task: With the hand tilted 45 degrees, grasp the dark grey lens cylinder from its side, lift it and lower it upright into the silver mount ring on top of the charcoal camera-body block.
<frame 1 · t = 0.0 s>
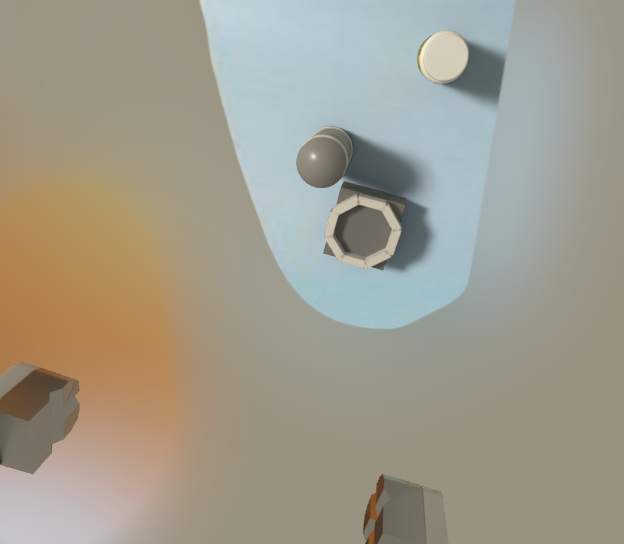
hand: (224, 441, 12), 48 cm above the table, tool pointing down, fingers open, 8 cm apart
supplement bottle: (438, 57, 49), on the table
lens: (331, 148, 55), on the table
camera body: (364, 222, 59), on the table
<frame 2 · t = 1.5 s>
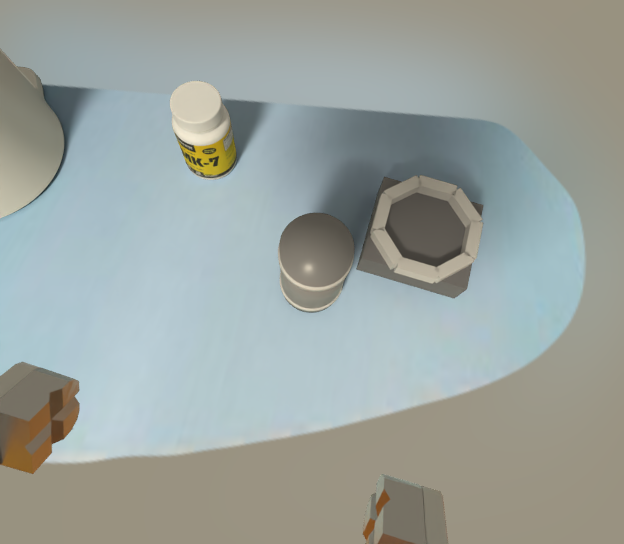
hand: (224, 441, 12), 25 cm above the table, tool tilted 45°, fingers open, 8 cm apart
supplement bottle: (212, 160, 43), on the table
lens: (310, 283, 40), on the table
camera body: (414, 243, 41), on the table
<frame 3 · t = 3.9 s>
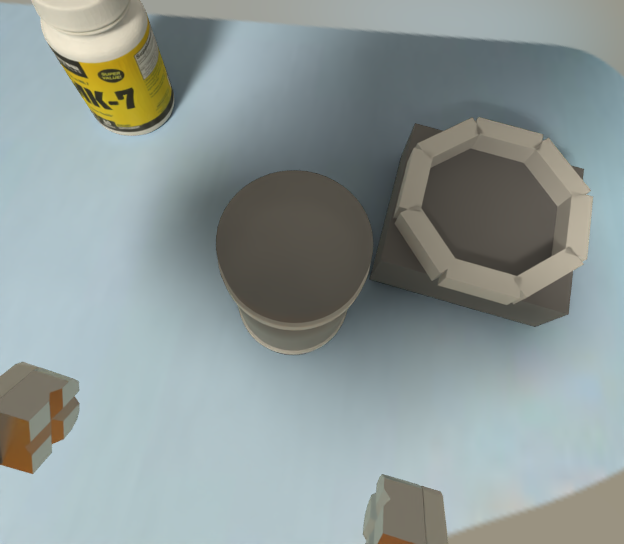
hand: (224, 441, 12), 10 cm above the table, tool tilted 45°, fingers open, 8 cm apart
supplement bottle: (136, 107, 27), on the table
lens: (293, 304, 23), on the table
camera body: (464, 236, 25), on the table
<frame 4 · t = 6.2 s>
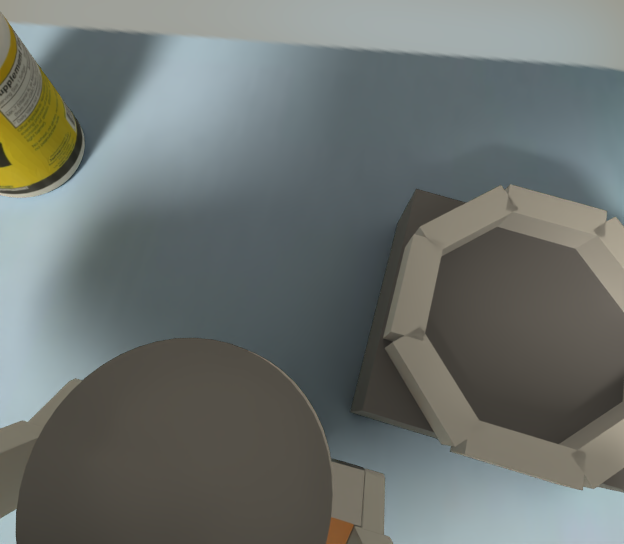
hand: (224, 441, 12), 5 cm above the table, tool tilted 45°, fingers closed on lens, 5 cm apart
supplement bottle: (34, 155, 20), on the table
lens: (238, 453, 16), on the table, touching gripper
camera body: (485, 343, 18), on the table
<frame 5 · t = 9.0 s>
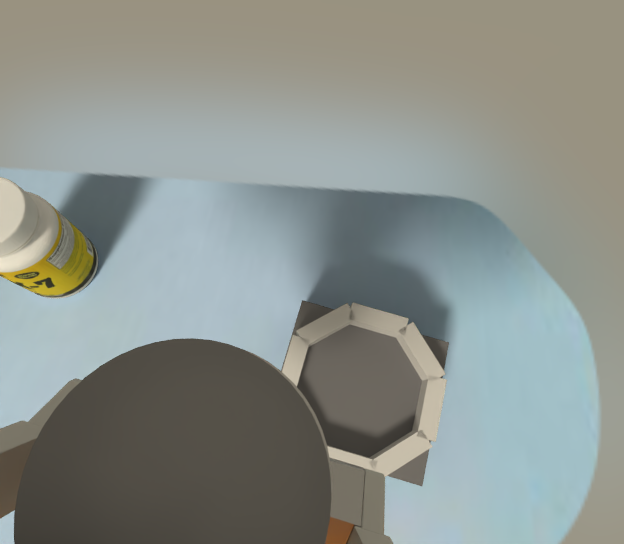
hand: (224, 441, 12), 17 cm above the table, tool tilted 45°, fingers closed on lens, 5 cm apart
supplement bottle: (65, 266, 30), on the table
lens: (237, 454, 16), point 12 cm above the table, touching gripper
camera body: (351, 391, 28), on the table
when the fingers open (9 cm above the table, at t = 12.1 s): lens drops 1 cm, resting on camera body.
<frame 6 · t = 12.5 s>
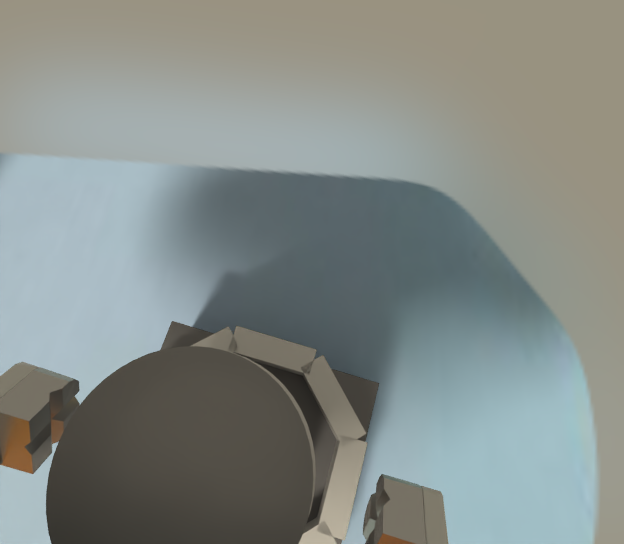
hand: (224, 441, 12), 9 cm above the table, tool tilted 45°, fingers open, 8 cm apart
lens: (235, 449, 17), point 3 cm above the table, touching camera body
camera body: (249, 446, 20), on the table
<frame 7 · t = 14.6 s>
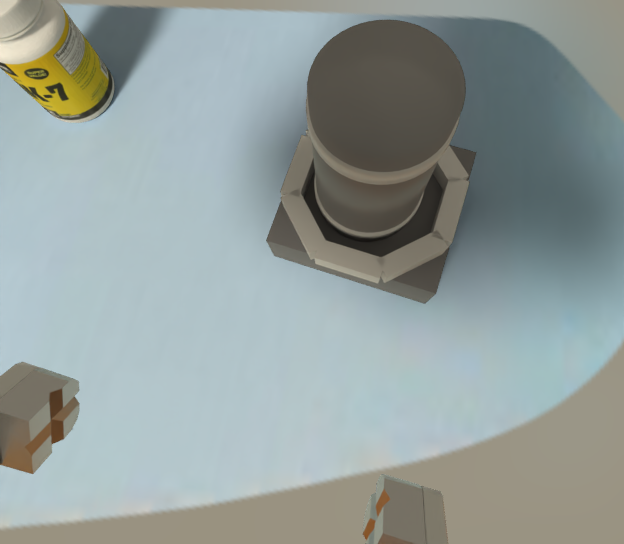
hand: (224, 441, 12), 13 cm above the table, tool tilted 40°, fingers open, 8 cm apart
supplement bottle: (83, 95, 30), on the table
lens: (366, 194, 24), point 3 cm above the table, touching camera body
camera body: (368, 216, 27), on the table
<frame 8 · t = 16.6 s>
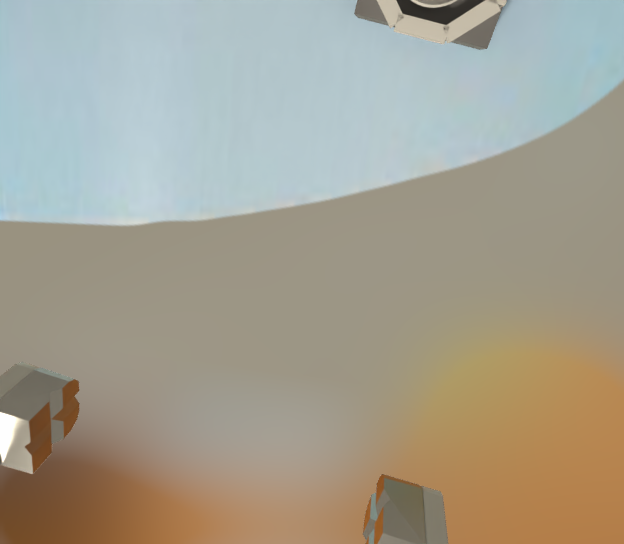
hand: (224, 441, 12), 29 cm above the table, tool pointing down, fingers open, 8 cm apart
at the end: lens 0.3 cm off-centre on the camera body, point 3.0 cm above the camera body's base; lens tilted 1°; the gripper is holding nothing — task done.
